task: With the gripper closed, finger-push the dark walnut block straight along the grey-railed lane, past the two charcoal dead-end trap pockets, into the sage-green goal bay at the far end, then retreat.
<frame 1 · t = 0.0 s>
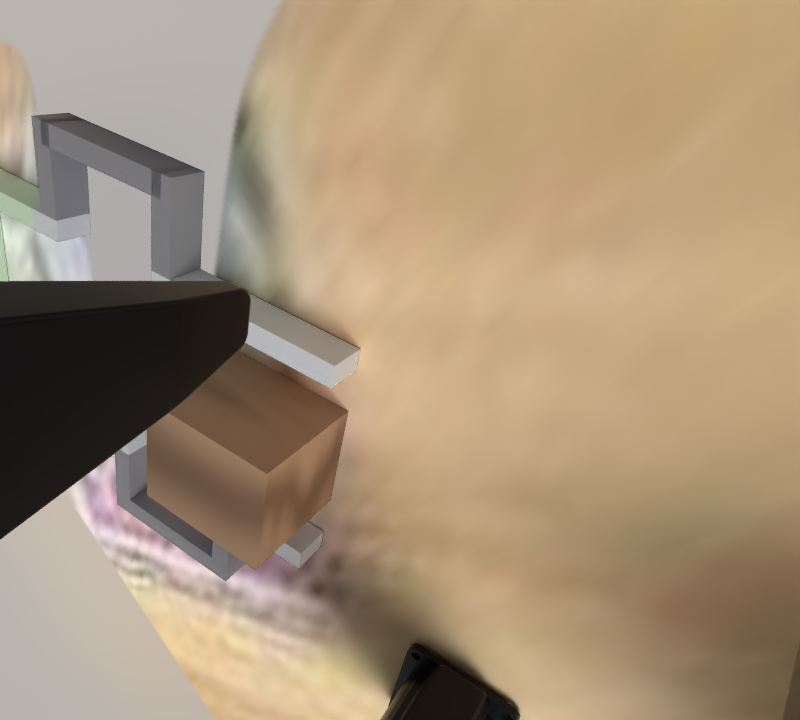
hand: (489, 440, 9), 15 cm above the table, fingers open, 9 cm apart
walnut block: (286, 425, 34), on the table
trap pockets: (180, 366, 36), on the table
goal bay: (13, 286, 40), on the table
lane: (180, 366, 36), on the table
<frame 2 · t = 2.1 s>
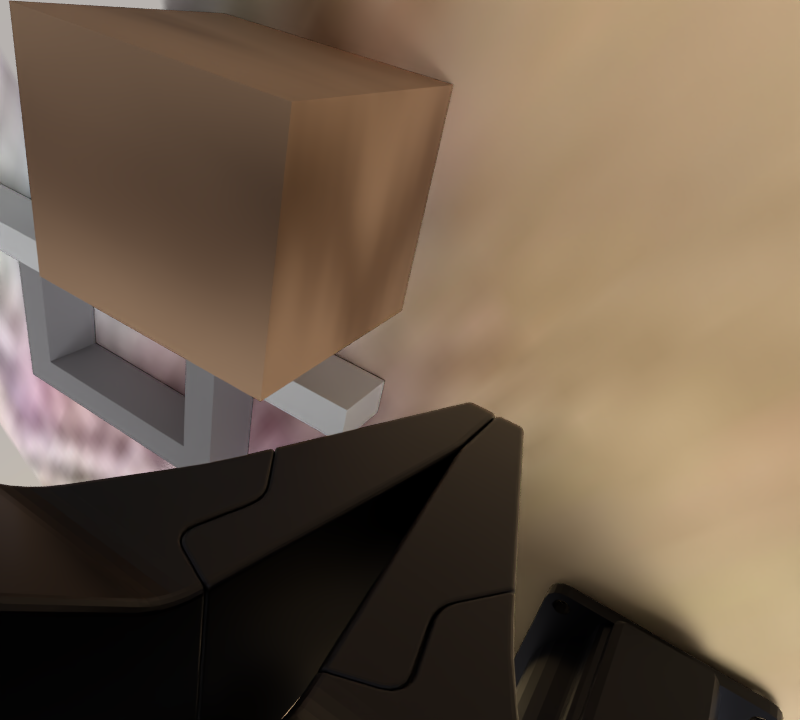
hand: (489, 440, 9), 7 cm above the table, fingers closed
walnut block: (317, 165, 18), on the table
trap pockets: (121, 89, 20), on the table
lane: (121, 89, 20), on the table
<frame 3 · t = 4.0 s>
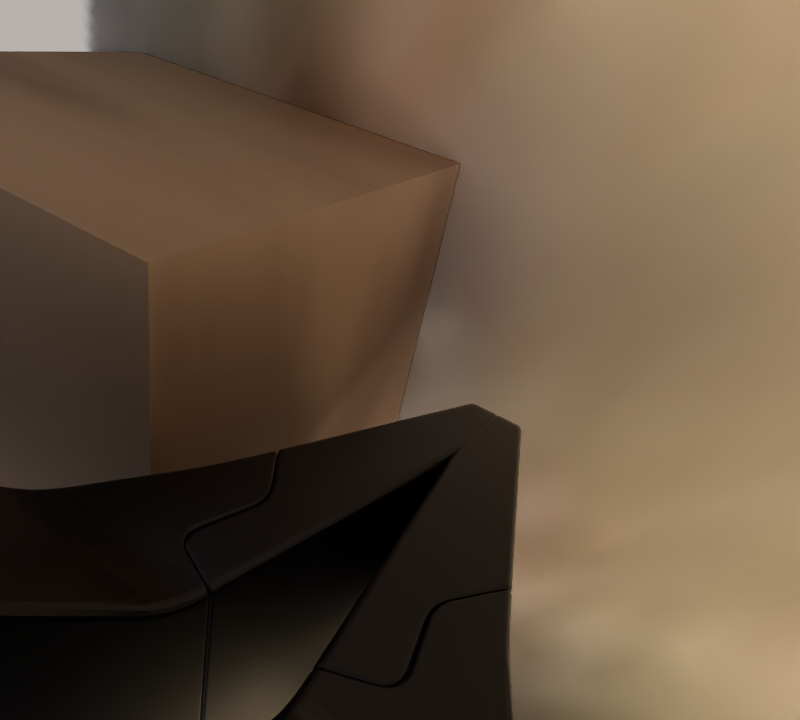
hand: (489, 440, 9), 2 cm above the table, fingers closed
walnut block: (267, 259, 13), on the table, touching gripper
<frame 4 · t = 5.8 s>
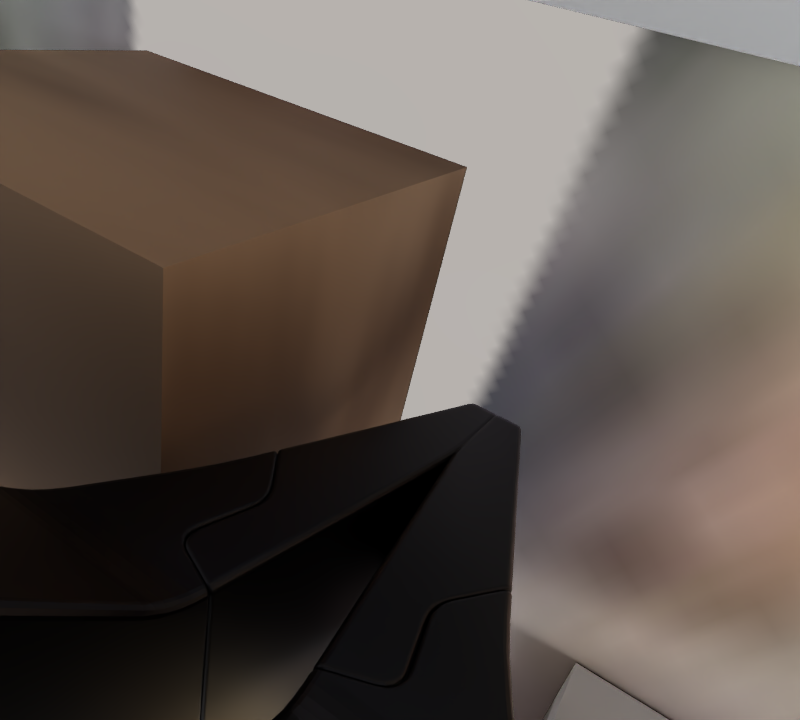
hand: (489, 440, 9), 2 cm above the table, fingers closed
walnut block: (272, 259, 13), on the table, touching gripper
lane: (417, 328, 12), on the table
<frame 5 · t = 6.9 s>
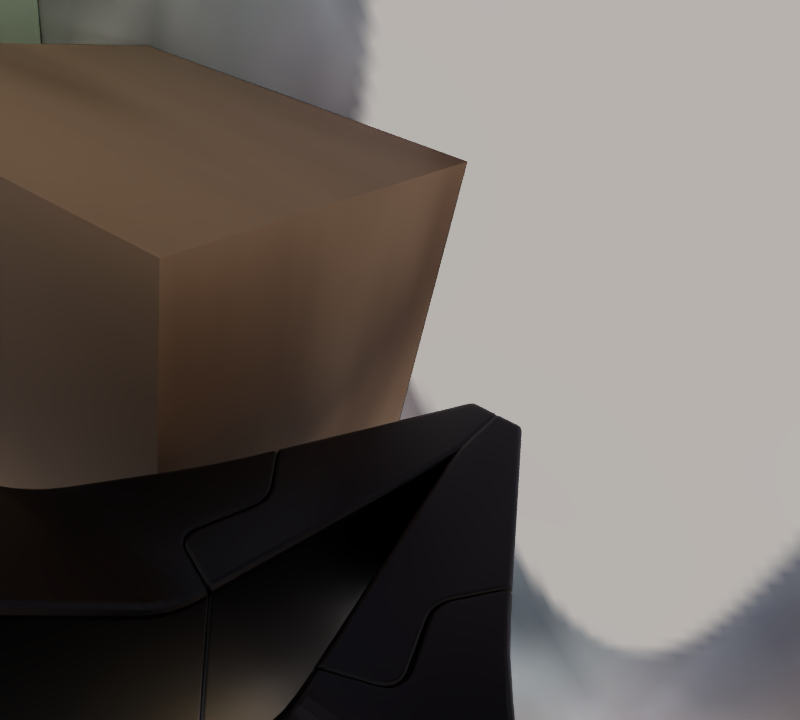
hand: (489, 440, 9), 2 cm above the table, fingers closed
walnut block: (272, 255, 13), on the table, touching gripper
goal bay: (77, 203, 13), on the table
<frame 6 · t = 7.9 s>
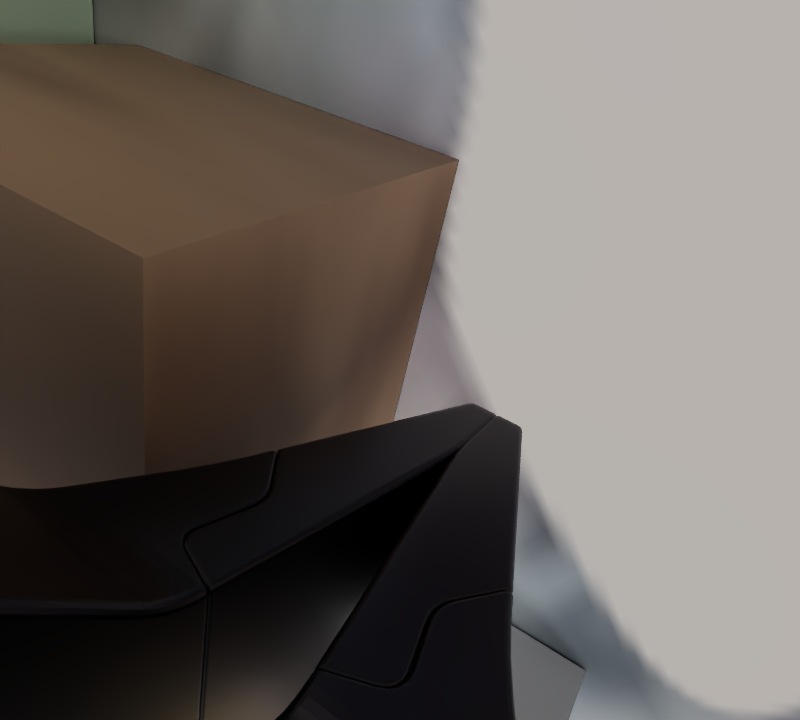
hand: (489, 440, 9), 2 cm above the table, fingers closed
walnut block: (265, 255, 13), on the table, touching gripper
goal bay: (137, 232, 12), on the table
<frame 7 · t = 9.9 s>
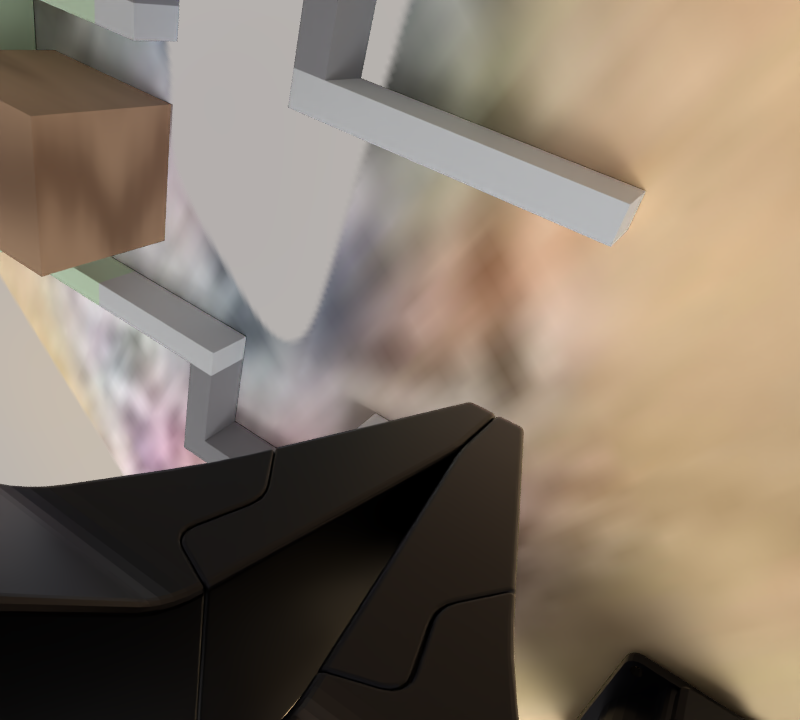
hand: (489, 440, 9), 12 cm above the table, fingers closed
walnut block: (112, 146, 28), on the table
trap pockets: (300, 245, 25), on the table
goal bay: (52, 133, 28), on the table
lane: (300, 245, 25), on the table
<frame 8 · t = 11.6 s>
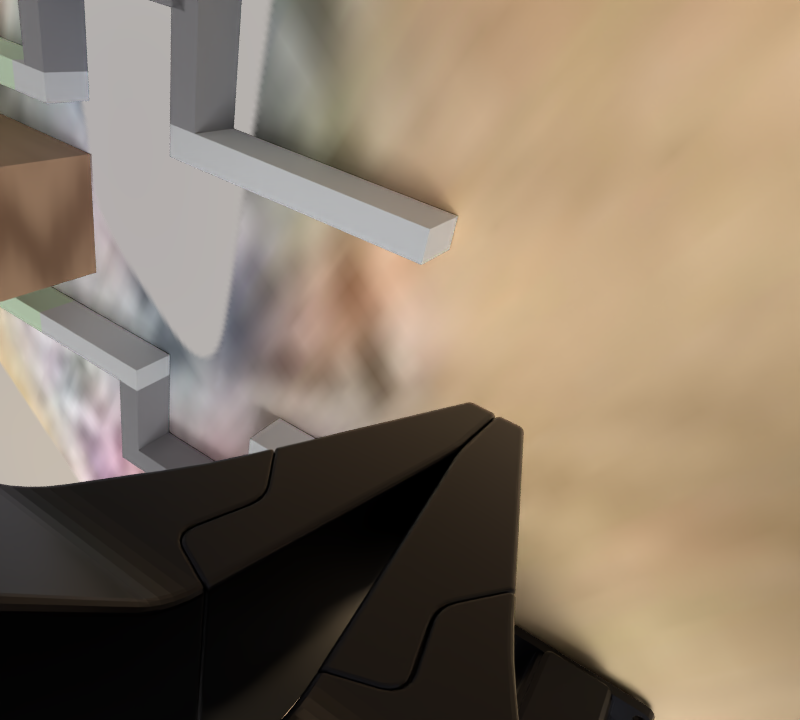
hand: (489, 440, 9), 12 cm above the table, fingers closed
walnut block: (47, 191, 32), on the table
trap pockets: (203, 272, 28), on the table
lane: (203, 272, 28), on the table
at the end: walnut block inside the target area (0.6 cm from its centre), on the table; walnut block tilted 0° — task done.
